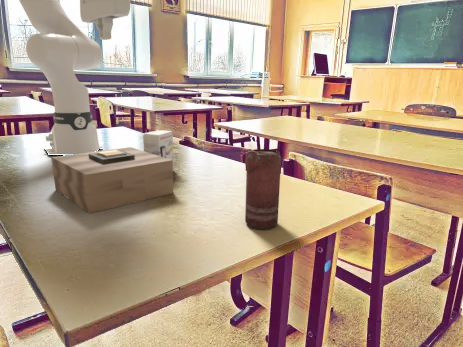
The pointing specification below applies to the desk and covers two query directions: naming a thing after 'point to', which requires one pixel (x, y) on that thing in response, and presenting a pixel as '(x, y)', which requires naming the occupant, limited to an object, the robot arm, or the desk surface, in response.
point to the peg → (111, 153)
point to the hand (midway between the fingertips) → (105, 39)
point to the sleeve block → (112, 178)
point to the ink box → (159, 143)
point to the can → (262, 188)
